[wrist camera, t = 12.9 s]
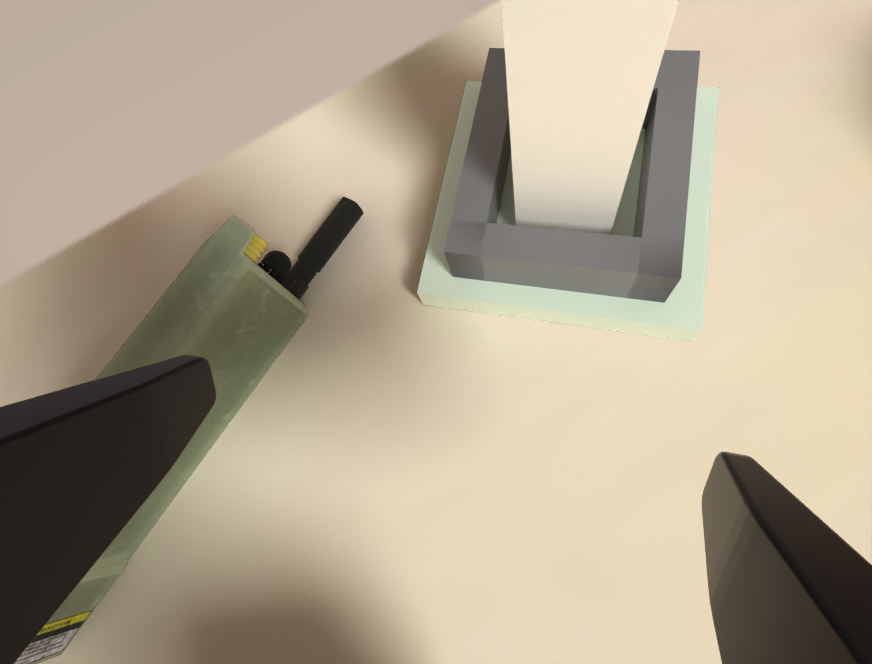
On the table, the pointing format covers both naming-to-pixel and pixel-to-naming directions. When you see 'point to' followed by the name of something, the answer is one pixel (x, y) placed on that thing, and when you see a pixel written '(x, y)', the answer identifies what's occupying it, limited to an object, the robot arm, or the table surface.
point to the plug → (578, 103)
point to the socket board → (572, 250)
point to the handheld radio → (230, 363)
